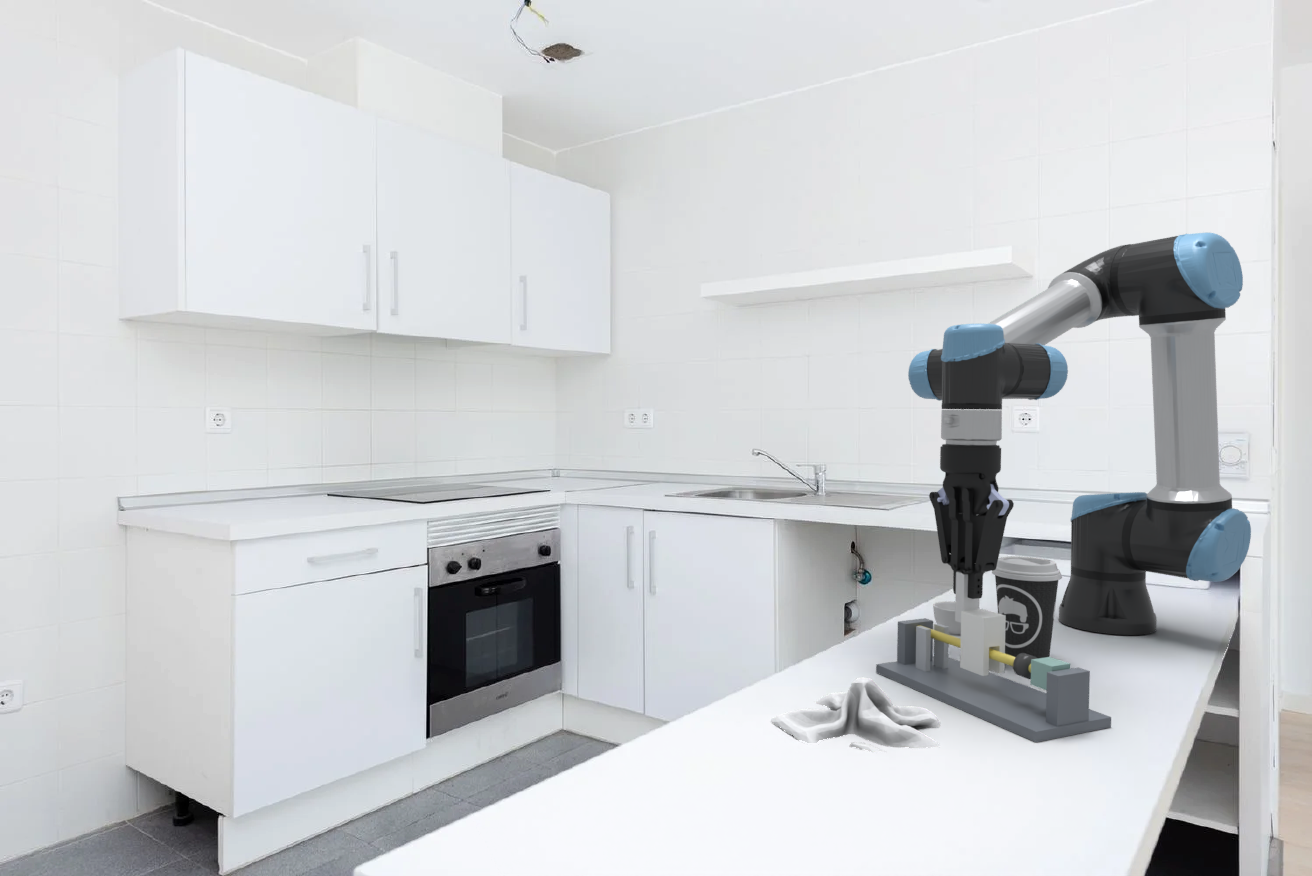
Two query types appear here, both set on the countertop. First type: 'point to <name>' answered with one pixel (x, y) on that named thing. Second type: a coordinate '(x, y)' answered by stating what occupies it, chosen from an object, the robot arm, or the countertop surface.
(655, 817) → the countertop surface
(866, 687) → the cloth
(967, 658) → the white rectangular block
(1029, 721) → the linear slide fixture
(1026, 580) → the coffee cup
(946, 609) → the teacup
